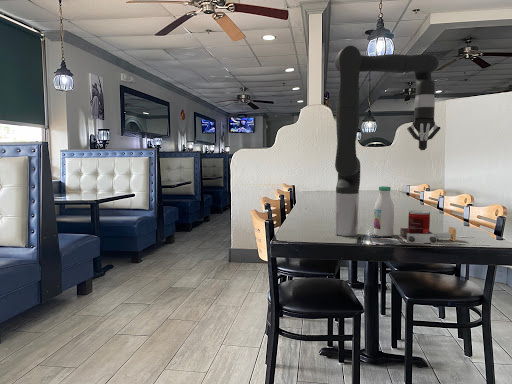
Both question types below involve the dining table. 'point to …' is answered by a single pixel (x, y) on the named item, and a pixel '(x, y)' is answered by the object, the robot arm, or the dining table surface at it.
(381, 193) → the milk bottle
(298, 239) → the dining table surface
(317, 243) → the dining table surface
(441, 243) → the track
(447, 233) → the trolley
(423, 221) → the canned food
